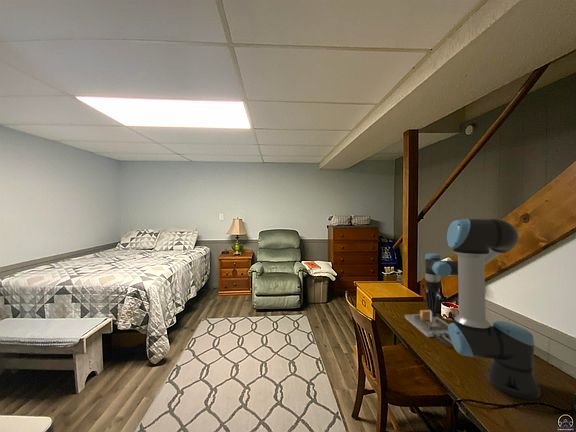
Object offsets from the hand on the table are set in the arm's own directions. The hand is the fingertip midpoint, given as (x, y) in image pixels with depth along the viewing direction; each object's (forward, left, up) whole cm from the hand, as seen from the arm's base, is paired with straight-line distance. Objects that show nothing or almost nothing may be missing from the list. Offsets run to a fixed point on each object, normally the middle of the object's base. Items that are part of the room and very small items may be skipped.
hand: (433, 321), depth 142 cm
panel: (+3, 0, -4) cm, 5 cm away
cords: (-15, +1, -4) cm, 15 cm away
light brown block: (+7, 0, -2) cm, 7 cm away
